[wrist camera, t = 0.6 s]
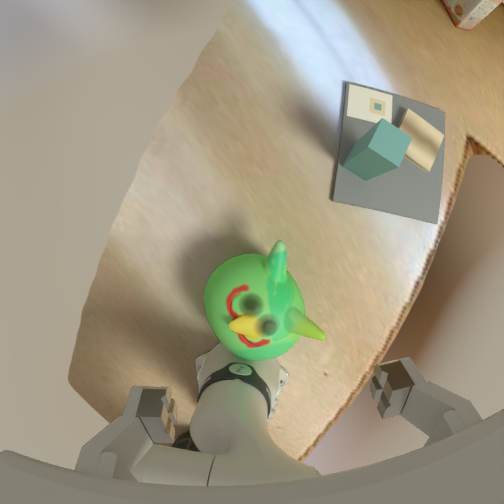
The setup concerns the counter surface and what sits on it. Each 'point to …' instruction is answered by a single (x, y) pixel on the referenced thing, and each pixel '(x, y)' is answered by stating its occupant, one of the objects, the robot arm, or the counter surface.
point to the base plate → (412, 166)
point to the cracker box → (469, 11)
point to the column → (378, 151)
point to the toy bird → (257, 306)
